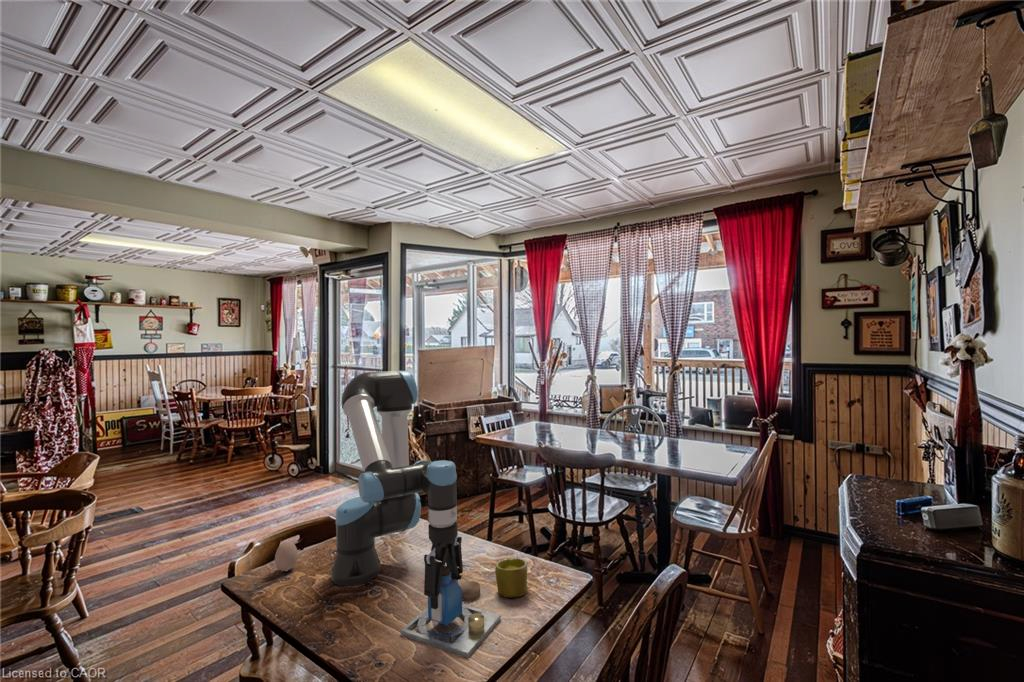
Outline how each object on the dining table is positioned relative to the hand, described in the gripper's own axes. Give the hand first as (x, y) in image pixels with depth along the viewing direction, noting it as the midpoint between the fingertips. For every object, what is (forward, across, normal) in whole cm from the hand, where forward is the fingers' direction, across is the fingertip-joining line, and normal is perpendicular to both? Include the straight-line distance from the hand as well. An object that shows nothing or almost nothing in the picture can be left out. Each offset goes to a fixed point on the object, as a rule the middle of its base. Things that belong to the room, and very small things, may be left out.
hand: (445, 611), depth 115 cm
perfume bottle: (+1, 0, 0) cm, 1 cm away
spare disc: (+4, +15, +2) cm, 16 cm away
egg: (+3, +2, +65) cm, 65 cm away
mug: (+4, +23, -8) cm, 25 cm away
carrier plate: (+3, 0, -2) cm, 4 cm away
